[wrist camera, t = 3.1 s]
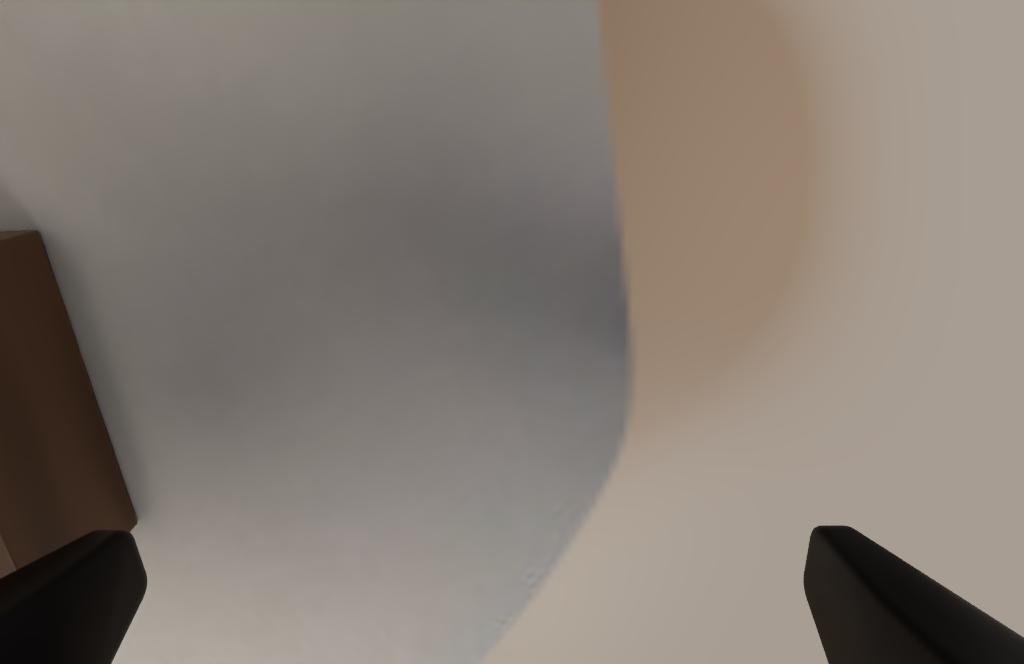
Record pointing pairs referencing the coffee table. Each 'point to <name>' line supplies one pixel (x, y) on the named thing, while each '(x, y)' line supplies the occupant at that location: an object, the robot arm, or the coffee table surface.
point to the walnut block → (47, 419)
